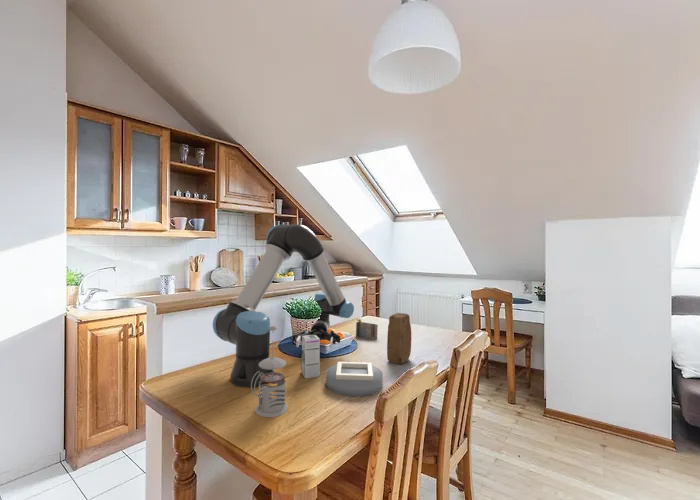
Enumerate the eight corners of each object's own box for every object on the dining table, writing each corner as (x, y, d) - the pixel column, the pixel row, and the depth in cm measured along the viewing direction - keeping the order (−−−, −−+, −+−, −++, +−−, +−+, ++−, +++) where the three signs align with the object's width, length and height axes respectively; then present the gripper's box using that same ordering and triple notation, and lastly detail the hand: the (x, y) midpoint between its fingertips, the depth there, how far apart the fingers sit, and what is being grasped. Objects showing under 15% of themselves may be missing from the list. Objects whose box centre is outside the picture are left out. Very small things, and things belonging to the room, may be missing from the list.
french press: (295, 408, 104) (296, 326, 103) (261, 423, 95) (263, 333, 94) (275, 398, 110) (276, 320, 110) (242, 410, 102) (244, 326, 101)
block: (400, 366, 141) (401, 317, 140) (384, 361, 145) (386, 314, 145) (413, 359, 149) (414, 313, 148) (398, 355, 154) (399, 310, 153)
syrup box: (319, 376, 128) (320, 338, 127) (304, 378, 126) (305, 339, 125) (315, 371, 133) (316, 334, 133) (300, 373, 131) (301, 335, 131)
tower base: (323, 395, 113) (323, 378, 113) (328, 372, 133) (328, 357, 133) (384, 397, 113) (385, 380, 112) (380, 373, 132) (380, 359, 132)
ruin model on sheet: (355, 336, 183) (355, 318, 183) (358, 335, 186) (358, 317, 185) (374, 340, 177) (374, 321, 177) (377, 339, 180) (377, 320, 180)
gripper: (346, 339, 159) (345, 354, 138) (292, 337, 159) (282, 352, 138) (346, 322, 159) (345, 335, 138) (292, 321, 159) (283, 334, 138)
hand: (314, 344), depth 138 cm, fingers open, 13 cm apart
